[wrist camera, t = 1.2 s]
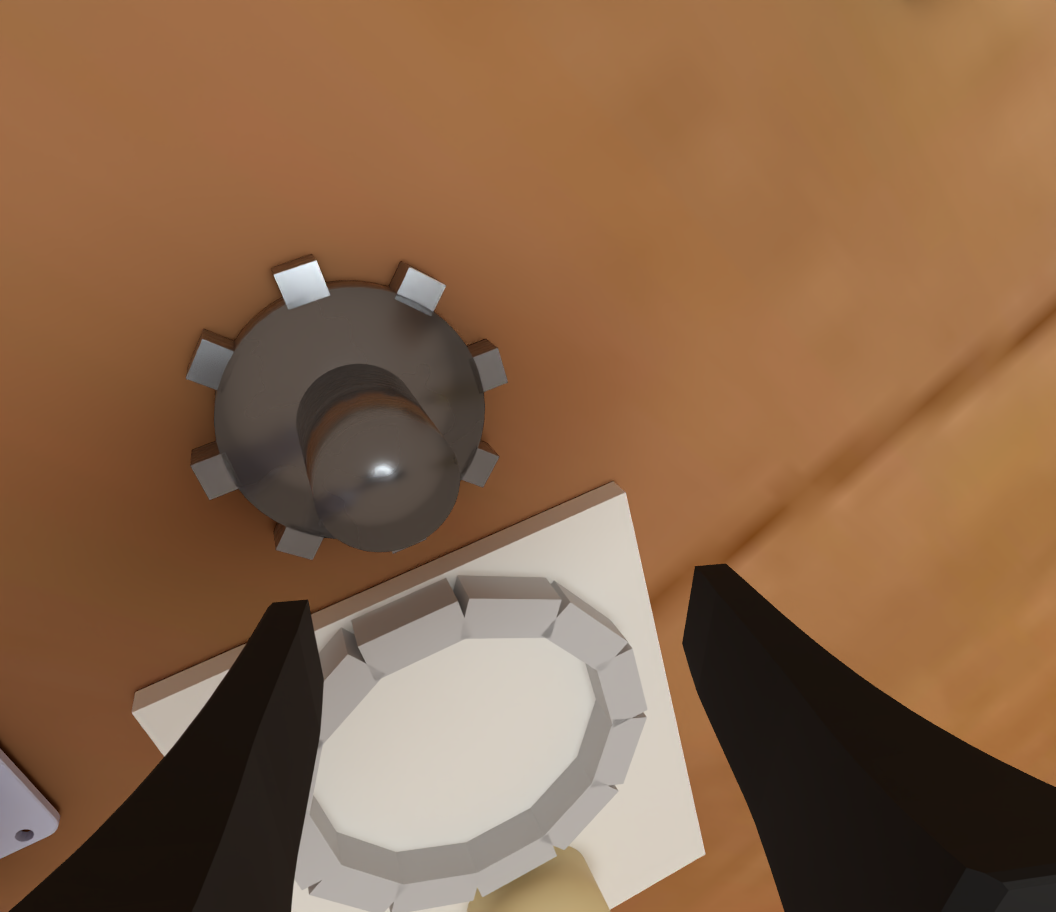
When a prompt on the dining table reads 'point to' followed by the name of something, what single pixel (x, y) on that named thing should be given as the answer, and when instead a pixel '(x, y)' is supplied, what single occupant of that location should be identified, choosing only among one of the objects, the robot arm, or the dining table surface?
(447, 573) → the carrier plate
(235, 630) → the dining table surface
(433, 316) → the gear
